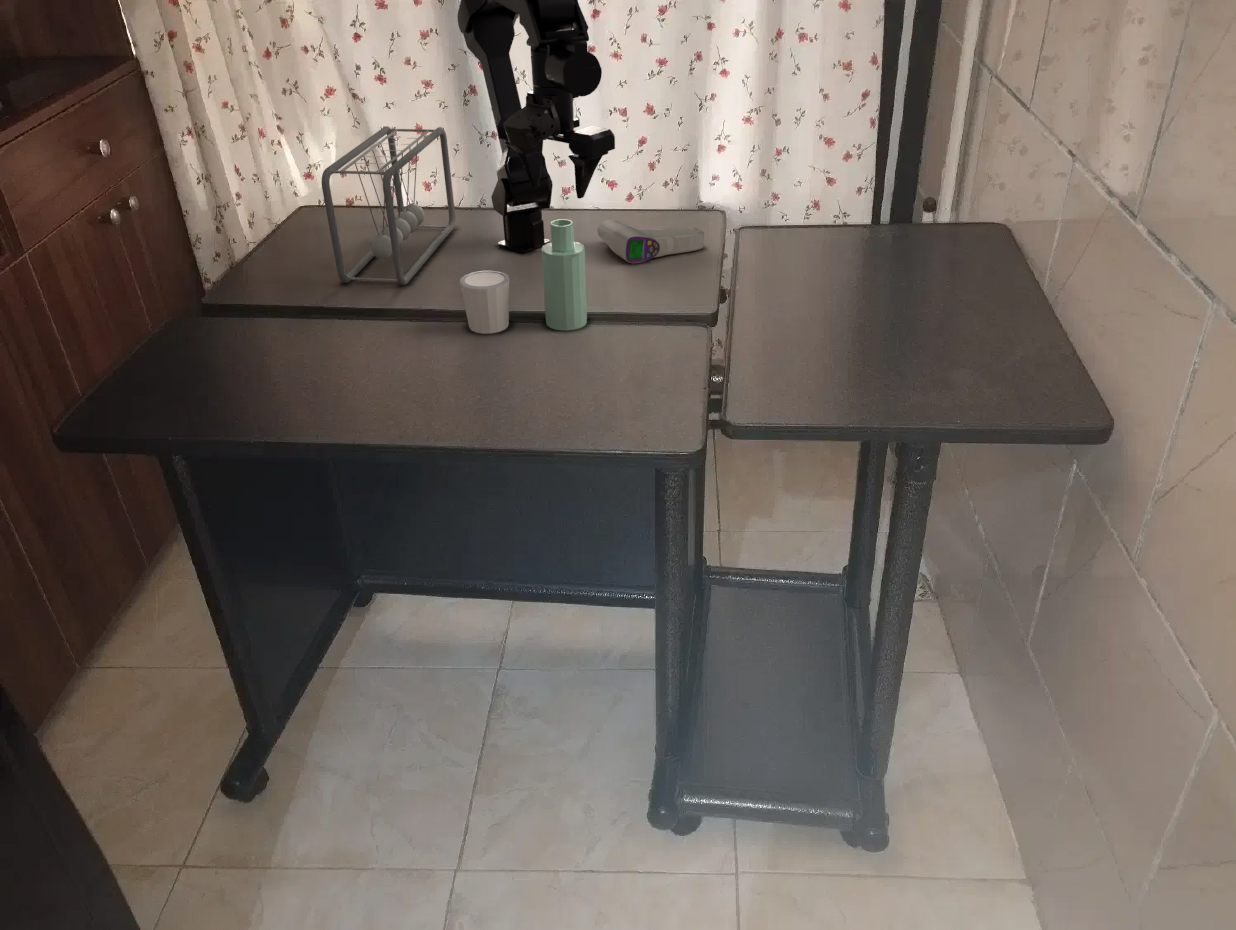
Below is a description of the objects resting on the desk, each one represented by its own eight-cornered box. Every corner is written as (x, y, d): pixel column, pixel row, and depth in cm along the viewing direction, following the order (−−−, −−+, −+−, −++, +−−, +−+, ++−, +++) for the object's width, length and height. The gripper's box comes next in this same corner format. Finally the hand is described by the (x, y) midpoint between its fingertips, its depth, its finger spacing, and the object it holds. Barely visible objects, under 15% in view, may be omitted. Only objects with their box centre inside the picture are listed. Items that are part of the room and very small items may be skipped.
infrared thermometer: (706, 256, 160) (627, 266, 154) (669, 234, 169) (593, 243, 163) (708, 229, 158) (628, 238, 152) (671, 209, 167) (594, 217, 161)
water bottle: (538, 320, 137) (531, 221, 129) (571, 310, 140) (567, 213, 132) (560, 334, 133) (555, 232, 125) (594, 323, 136) (591, 223, 128)
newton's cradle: (403, 290, 147) (387, 174, 138) (339, 287, 149) (317, 172, 139) (457, 226, 172) (446, 124, 163) (401, 224, 174) (387, 123, 164)
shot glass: (504, 337, 132) (500, 289, 129) (457, 333, 134) (452, 286, 130) (519, 317, 138) (515, 271, 134) (473, 314, 139) (469, 268, 135)
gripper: (465, 85, 136) (476, 194, 145) (563, 102, 126) (568, 218, 135) (520, 73, 144) (527, 177, 152) (616, 87, 134) (618, 198, 142)
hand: (557, 192), depth 145 cm, fingers open, 9 cm apart
